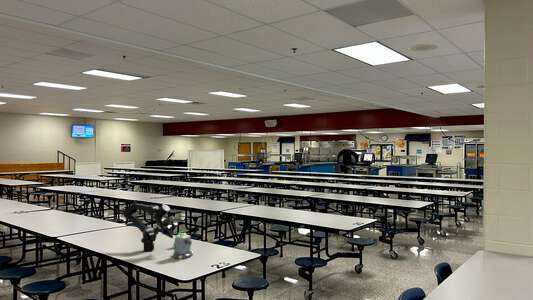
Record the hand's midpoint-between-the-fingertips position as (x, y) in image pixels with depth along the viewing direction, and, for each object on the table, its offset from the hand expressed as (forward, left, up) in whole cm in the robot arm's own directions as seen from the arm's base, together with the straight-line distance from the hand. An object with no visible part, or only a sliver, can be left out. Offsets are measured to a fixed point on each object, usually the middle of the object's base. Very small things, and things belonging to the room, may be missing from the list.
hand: (172, 237), depth 250 cm
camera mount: (+4, +20, -12) cm, 24 cm away
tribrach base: (+7, -5, -12) cm, 15 cm away
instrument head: (+9, -6, -9) cm, 14 cm away
